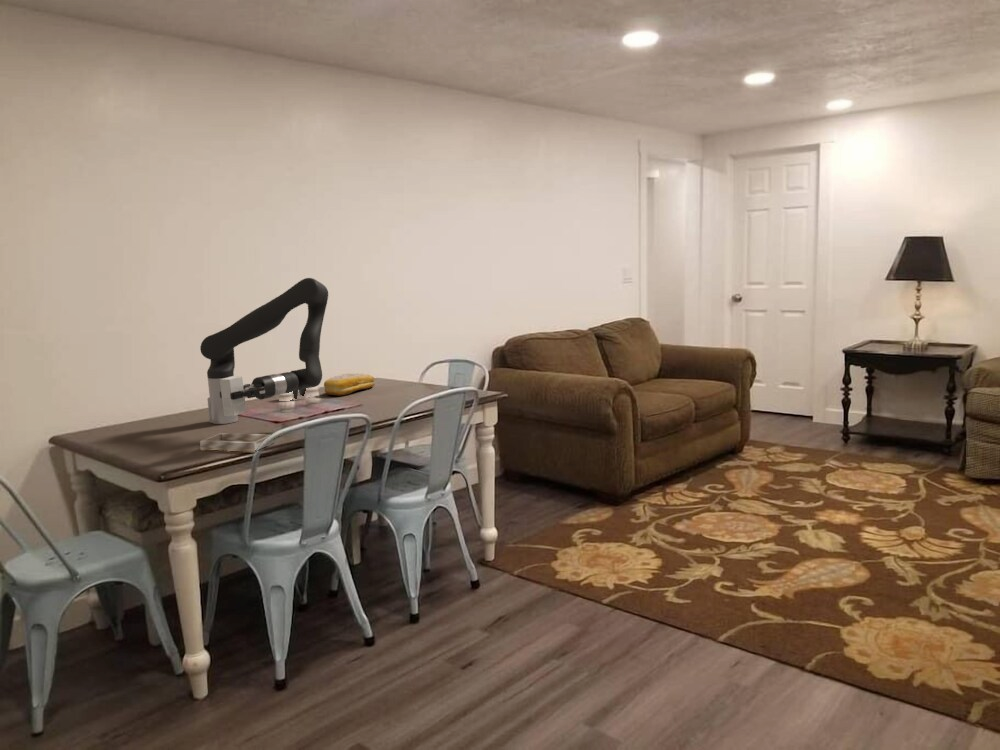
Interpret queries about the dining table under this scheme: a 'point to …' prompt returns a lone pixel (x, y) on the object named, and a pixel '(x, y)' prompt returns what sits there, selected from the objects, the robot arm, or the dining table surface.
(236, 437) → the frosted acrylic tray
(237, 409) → the skincare box
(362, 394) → the dining table surface
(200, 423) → the dining table surface
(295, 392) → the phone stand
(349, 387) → the bread
